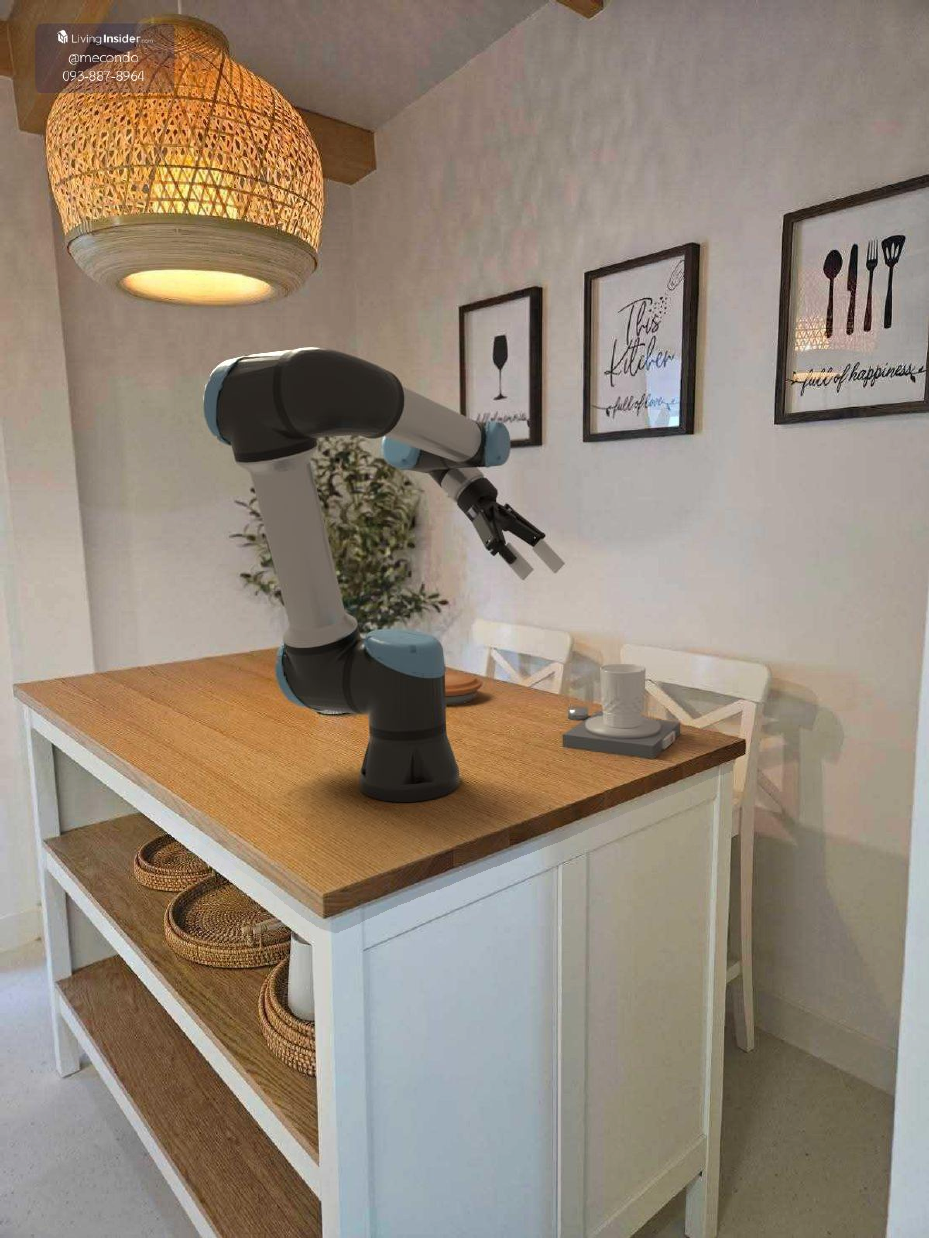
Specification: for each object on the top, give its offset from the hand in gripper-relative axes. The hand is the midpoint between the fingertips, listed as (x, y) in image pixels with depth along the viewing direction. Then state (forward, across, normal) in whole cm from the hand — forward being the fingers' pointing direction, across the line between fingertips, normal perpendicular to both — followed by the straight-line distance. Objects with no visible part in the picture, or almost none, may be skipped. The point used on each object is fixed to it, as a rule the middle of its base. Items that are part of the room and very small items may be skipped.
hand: (544, 571), depth 147 cm
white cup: (+29, 0, -9) cm, 31 cm away
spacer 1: (+22, -11, -20) cm, 32 cm away
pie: (0, -14, -43) cm, 45 cm away
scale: (+31, 0, -11) cm, 33 cm away
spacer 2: (+26, -10, -16) cm, 32 cm away
